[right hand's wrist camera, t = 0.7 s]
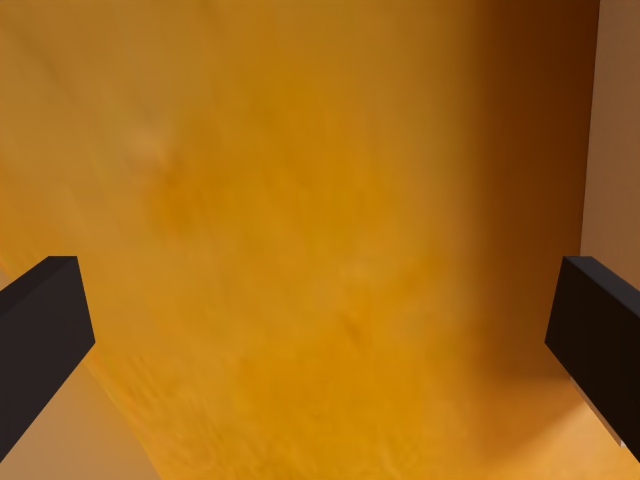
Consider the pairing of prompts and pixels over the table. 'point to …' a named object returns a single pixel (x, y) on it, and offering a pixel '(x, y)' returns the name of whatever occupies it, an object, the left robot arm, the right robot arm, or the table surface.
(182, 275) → the table surface
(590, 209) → the beam
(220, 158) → the table surface
